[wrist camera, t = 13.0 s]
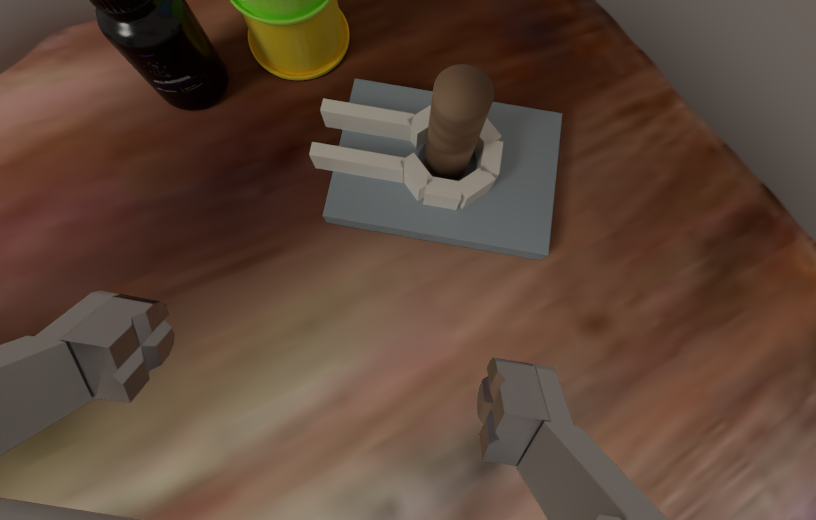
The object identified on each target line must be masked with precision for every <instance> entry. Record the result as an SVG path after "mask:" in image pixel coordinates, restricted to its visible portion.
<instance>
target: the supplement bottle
mask: <svg viewBox="0 0 816 520" xmlns="http://www.w3.org/2000/svg"><path fill="white" fill-rule="evenodd" d="M90 2H91V3H92V4H93V5H94V6H95V7H96V8H95V9H96V10H95V12H96V19H97V23H98V26H99V28H100V30H101V31H102V33H103V34H104V36H105V37H106V38H107V39H108V40H109V42H110V43H111V44H112V45H113V46H114V47H115V48H116V49H117V50H118V51H119V52H120V53H121V54H122V55H123V56H124V57H125V59H126V60H127V61H128V62H129V63H130V64H131V65H132V66H133V67H134V68H135V69H136V70H137V71H138V72H139V73H140V74H141V75H142V77H143V78H144V79H145V80H146V81H147V82H148V83H149V84H150V85H151V86H152V87H153V88H154V89H155V90H156V91H157V92H158V93H159V94H160V95H161V96H162V97H163V98H164V99H165V100H166V101H167V102H168V103H169V104H171V105H173V106H175V107H177V108H180V109H184V110H200V109H204V108H206V107H209V106H211V105H212V104H214V103H215V102H217V101H218V100H219V99H220V98H221V96H222V95H223V94H224V92H225V90H226V87H227V83H228V74H227V70H226V67H225V65H224V63H223V61H222V60H221V58H220V56H219V55H218V53H217V51H216V50H215V48H214V46H213V45H212V43H211V41H210V40H209V38H208V36H207V35H206V33H205V31H204V30H203V28H202V27H201V25H200V23H199V22H198V20H197V18H196V17H195V15H194V13H193V12H192V10H191V8H190V7H189V5H188V4H187V2H186V0H90Z"/></svg>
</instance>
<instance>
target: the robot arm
mask: <svg viewBox="0 0 816 520" xmlns="http://www.w3.org/2000/svg"><path fill="white" fill-rule="evenodd" d="M168 315H169V313H168V310H167V306H166V304H165V303H162V302H159V301H154V300H149V299H144V298H138V297H133V296H128V295H123V294H116V293H111V292H106V291H100V290H99V291H96V292H92V293H90V294H89V295H88V296H86V297H85V298H84V299H82V300H81V301H80V302H78V303H77V304H76V305H75V306H73V307H72V308H71V309H69V310H68V311H67V312H65V313H64V314H63V315H62V316H60V317H59V318H58V319H56V320H55V321H54V322H52V323H51V324H50V325H49V326H47V327H46V328H45V329H43V330H42V331H41V332H39V333H38V334H37V335H36V336H24V337H21V338H19V339H16V340H13V341H10V342H7V343H4V344H2V345H0V455H2V454H3V453H5V452H6V451H8V450H10V449H11V448H13V447H15V446H16V445H18V444H20V443H21V442H23V441H25V440H26V439H28V438H30V437H31V436H33V435H35V434H36V433H38V432H40V431H41V430H43V429H45V428H46V427H48V426H50V425H51V424H53V423H55V422H56V421H58V420H60V419H61V418H63V417H65V416H66V415H68V414H70V413H71V412H73V411H75V410H76V409H78V408H80V407H81V406H83V405H85V404H86V403H88V402H90V401H91V400H92V398H99V399H107V400H114V401H122V402H129V403H130V402H131V401H132V400H133V399H134V398H135V396H136V395H137V394H138V393H139V391H140V390H141V389H142V388H143V387H144V385H145V384H146V383H147V382H148V381H149V371H150V370H152V369H154V368H156V367H158V366H160V365H162V363H163V362H164V361H165V359H166V358H167V357H168V356H169V353H170V351H171V348H172V346H173V342H174V333H173V328H172V327H171V326H170V325H169V324H168V323H167V322H166V321H165V318H166V317H167V316H168ZM487 373H488V376H487V377H486V378H484V379H482V381H481V384H480V387H479V391H478V397H477V414H478V418H479V419H480V421H481V422H482V423H483V426H482V428H481V431H480V433H479V436H480V446H481V456H482V460H485V461H490V462H495V463H501V464H506V465H511V466H516V467H517V468H516V469H517V470H518V472H519V473H520V475H521V477H522V478H523V480H524V482H525V483H526V485H527V486H528V488H529V490H530V491H531V493H532V494H533V496H534V498H535V499H536V501H537V502H538V504H539V506H540V507H541V509H542V511H543V512H544V514H545V515H546V517H547V519H548V520H668V518H667V517H666V516H665V515H664V514H663V513H662V512H661V511H660V510H659V509H658V508H657V507H656V506H655V505H654V504H653V503H652V502H651V501H650V500H649V499H648V498H647V496H646V495H645V494H644V493H643V492H642V491H641V490H640V489H639V488H638V487H637V486H636V485H635V484H634V483H633V482H632V481H631V480H630V479H629V478H628V477H627V476H626V474H625V473H624V472H623V471H622V470H621V469H620V468H619V467H618V466H617V465H616V464H615V463H614V462H613V461H612V460H611V459H610V458H609V457H608V456H607V455H606V454H605V452H604V451H603V450H602V449H601V448H600V447H599V446H598V445H597V444H596V443H595V442H594V441H593V440H592V439H591V438H590V437H589V436H588V435H587V434H586V433H585V432H584V430H583V429H582V428H581V427H577V426H574V424H573V421H572V418H571V415H570V412H569V409H568V406H567V403H566V400H565V397H564V394H563V391H562V389H561V386H560V383H559V380H558V377H557V374H556V371H555V370H554V368H553V367H549V366H543V365H536V364H530V363H524V362H517V361H511V360H505V359H498V358H492V359H491V360H490V361H489V364H488V366H487ZM0 520H140V519H134V518H128V517H121V516H115V515H108V514H102V513H96V512H89V511H83V510H76V509H70V508H63V507H57V506H51V505H44V504H38V503H31V502H25V501H19V500H12V499H6V498H0Z"/></svg>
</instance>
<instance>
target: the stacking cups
mask: <svg viewBox="0 0 816 520" xmlns="http://www.w3.org/2000/svg"><path fill="white" fill-rule="evenodd" d="M230 2H231V3H232V4H233V5H234V6H235V8H237V9H238V10H239V11H240V12H241V13H242V15H243V18H244V20H245V22H246V24H247V26H248V43H249V47H250V49H251V52H252V54H253V55H254V57H255V59H256V60H257V62H258V63H259V64H260V65H261V66H262V67H263V68H265V69H266V70H267V71H268V72H270V73H272V74H274V75H276V76H278V77H280V78H284V79H288V80H295V81H296V80H310V79H314V78H317V77H320V76H322V75H324V74H326V73H328V72H329V71H331V70H333V69H334V68H335V67H336V66H337V65H338V64H339V63H340V61H341V60H342V59H343V57H344V55H345V54H346V51H347V49H348V45H349V38H350V35H349V27H348V23H347V20H346V18H345V16H344V14H343V13H342V11H341V10H340V9H339V7H338V1H337V0H230Z"/></svg>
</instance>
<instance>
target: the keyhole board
mask: <svg viewBox="0 0 816 520" xmlns="http://www.w3.org/2000/svg"><path fill="white" fill-rule="evenodd" d="M432 94H433V92H432V91H426V90H421V89H415V88H409V87H403V86H397V85H391V84H385V83H379V82H373V81H367V80H361V79H355V80H354V84H353V88H352V93H351V97H350V101H349V103H347V102H341V101H336V100H330V99H324V98H323V101H322V105H321V109H320V111H321V114H322V117H323V120H324V123H325V126H326V127H330V128H336V129H342V130H343V131H342V135H341V139H340V144H339V146H334V145H328V144H322V143H316V142H312V145H311V149H310V153H309V156H310V158H311V160H312V162H313V164H314V166H315V168H318V169H324V170H330V171H333V173H332V177H331V182H330V186H329V190H328V194H327V199H326V203H325V207H324V211H323V217H324V219H325V221H326V222H327V223H331V224H337V225H342V226H348V227H354V228H359V229H365V230H371V231H377V232H382V233H388V234H394V235H399V236H405V237H411V238H416V239H422V240H428V241H433V242H439V243H445V244H450V245H456V246H462V247H468V248H473V249H479V250H485V251H490V252H496V253H502V254H507V255H513V256H519V257H524V258H530V259H536V260H541V259H543V258H545V257H546V256H548V253H549V243H550V233H551V223H552V213H553V203H554V193H555V183H556V173H557V163H558V153H559V143H560V133H561V123H562V113H557V112H551V111H545V110H539V109H533V108H527V107H521V106H515V105H509V104H503V103H497V102H492V105H491V108H490V110H489V113H488V115H487V118H486V121H485V123H484V126H483V128H482V131H481V133H480V136H479V139H478V141H477V144H476V146H475V149H474V152H473V154H472V157H471V159H470V162H469V164H468V167H467V170H466V172H465V174H464V175H463V176H462V177H461V178H460V179H458V180H457V181H455V180H449V179H444V178H438V177H432V176H431V174H430V173H429V172H428V170H427V169H426V168H425V166H424V155H425V148H426V140H427V133H428V125H429V117H430V110H431V102H432Z"/></svg>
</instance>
